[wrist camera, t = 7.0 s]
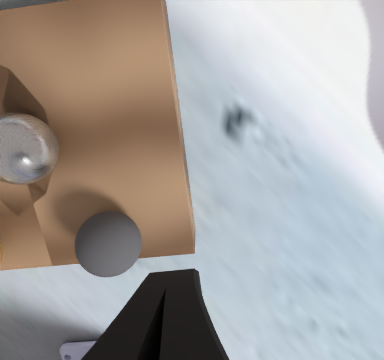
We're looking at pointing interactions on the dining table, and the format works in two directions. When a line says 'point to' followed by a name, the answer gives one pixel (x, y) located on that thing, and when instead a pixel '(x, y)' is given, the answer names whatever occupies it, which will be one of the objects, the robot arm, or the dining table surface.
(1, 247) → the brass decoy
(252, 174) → the dining table surface
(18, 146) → the steel ball
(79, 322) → the dining table surface
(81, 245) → the gray ball
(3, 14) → the brown wooden hole board
